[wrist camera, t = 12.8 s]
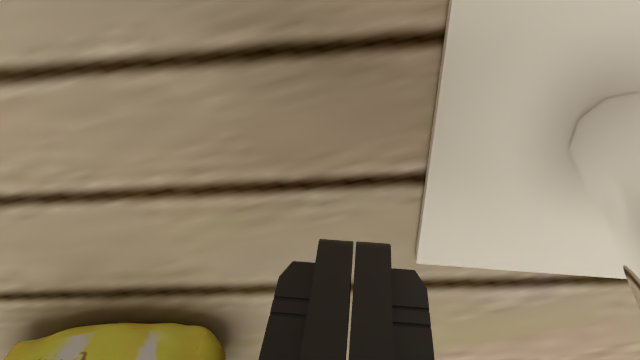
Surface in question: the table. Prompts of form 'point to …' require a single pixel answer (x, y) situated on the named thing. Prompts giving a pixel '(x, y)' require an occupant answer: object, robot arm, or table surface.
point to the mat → (523, 134)
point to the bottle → (123, 343)
